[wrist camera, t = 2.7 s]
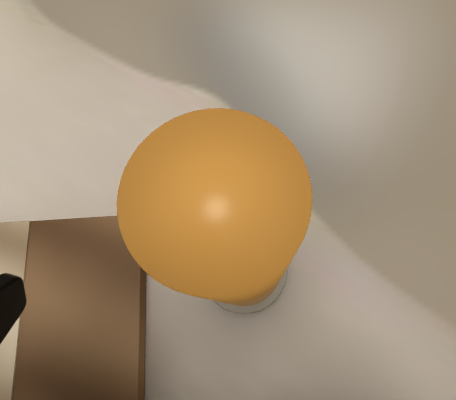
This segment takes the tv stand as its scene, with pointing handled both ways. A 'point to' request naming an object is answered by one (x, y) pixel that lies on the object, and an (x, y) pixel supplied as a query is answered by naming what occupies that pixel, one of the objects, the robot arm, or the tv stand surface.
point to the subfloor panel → (73, 312)
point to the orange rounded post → (216, 207)
